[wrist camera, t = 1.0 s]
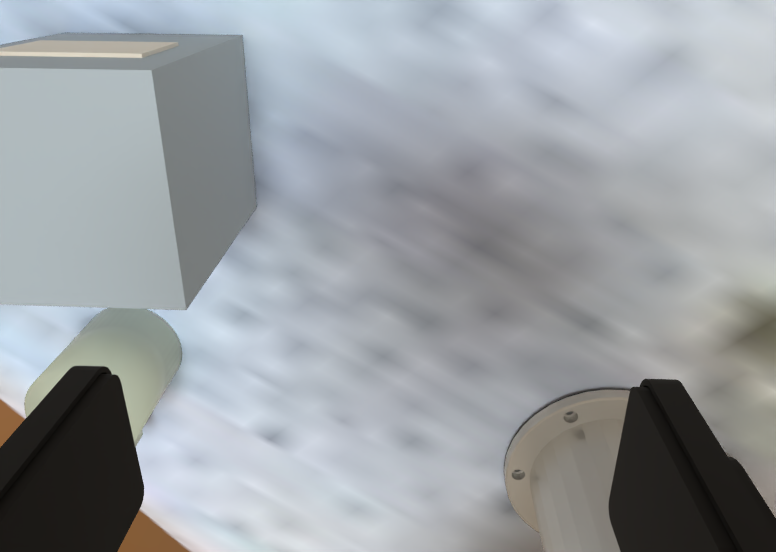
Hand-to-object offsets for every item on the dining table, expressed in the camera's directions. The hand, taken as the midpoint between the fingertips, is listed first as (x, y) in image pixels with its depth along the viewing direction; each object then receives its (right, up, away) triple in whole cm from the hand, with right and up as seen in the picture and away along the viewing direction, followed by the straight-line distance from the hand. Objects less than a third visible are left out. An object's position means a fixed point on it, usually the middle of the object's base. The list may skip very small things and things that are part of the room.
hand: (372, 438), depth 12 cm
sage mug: (-16, -3, +29) cm, 33 cm away
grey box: (-11, +11, +22) cm, 28 cm away
